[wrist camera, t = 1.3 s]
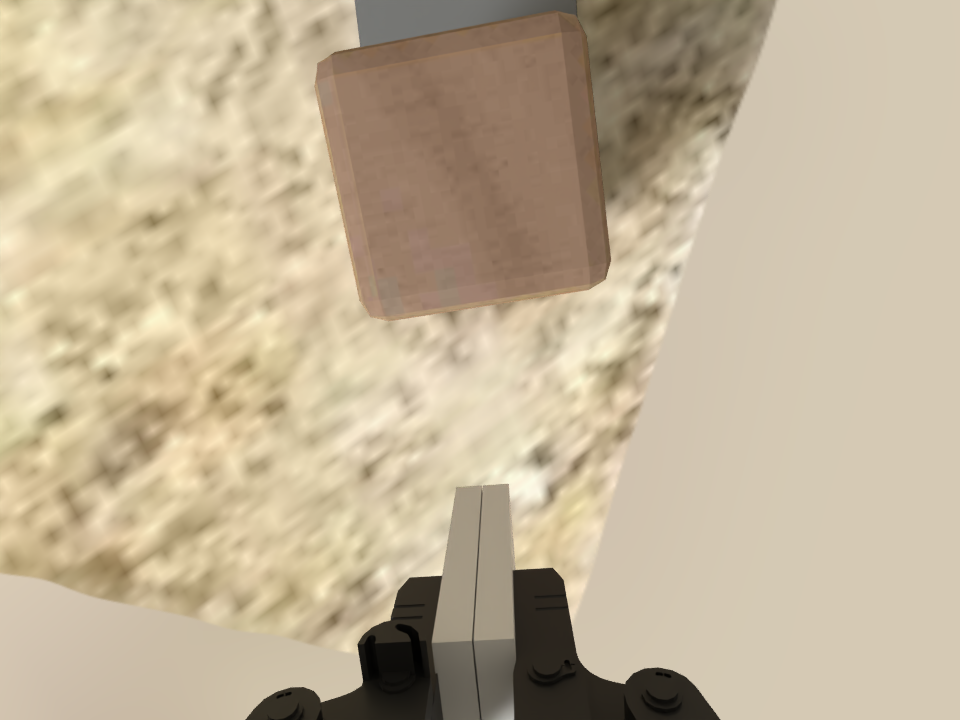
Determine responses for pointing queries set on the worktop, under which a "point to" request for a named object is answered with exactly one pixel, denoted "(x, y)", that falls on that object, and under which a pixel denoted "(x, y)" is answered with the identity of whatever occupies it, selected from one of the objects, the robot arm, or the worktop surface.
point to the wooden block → (467, 165)
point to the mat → (441, 15)
